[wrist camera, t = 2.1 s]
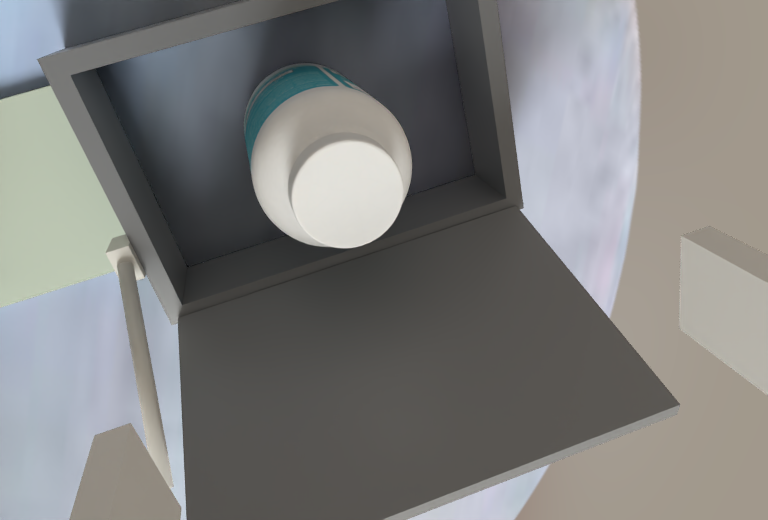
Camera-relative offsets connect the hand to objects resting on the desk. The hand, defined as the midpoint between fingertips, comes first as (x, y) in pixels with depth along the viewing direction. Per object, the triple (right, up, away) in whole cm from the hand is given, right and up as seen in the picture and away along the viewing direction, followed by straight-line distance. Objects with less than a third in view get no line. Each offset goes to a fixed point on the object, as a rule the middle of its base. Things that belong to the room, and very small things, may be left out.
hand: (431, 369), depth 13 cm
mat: (-22, +6, +20) cm, 30 cm away
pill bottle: (-6, +11, +22) cm, 25 cm away
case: (-6, +9, +23) cm, 25 cm away
